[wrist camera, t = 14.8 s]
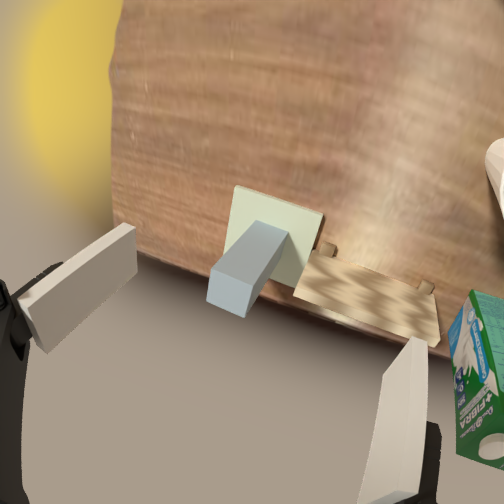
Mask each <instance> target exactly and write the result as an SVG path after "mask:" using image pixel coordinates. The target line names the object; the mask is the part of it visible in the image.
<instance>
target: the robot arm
mask: <svg viewBox="0 0 504 504" xmlns="http://www.w3.org/2000/svg"><path fill="white" fill-rule="evenodd" d="M135 274H137V254H136V227H133V226H131V225H129V224H126V223H122V224H121V225H119V226H118V227H116V228H115V229H113V230H112V231H110V232H108V233H107V234H105V235H104V236H102V237H101V238H99V239H98V240H97V241H95V242H94V243H92V244H91V245H89V246H88V247H86V248H85V249H83V250H82V251H80V252H79V253H78V254H76V255H75V256H74V257H72V258H71V259H69V260H68V261H66V262H65V263H63V262H59V263H57V264H54V265H51V266H50V267H48V268H47V269H46V270H44V271H43V273H40V274H39V275H38V276H36V278H33V279H32V280H31V281H29V282H28V283H27V284H26V285H24V286H23V287H22V288H20V289H19V290H18V291H16V292H15V293H14V294H12V295H11V296H10V295H9V293H8V289H7V287H6V284H5V282H4V281H2V280H1V279H0V504H29V500H28V497H27V495H26V493H25V491H24V489H23V486H22V469H21V431H22V411H23V398H24V388H25V379H26V371H27V363H28V356H29V349H30V341H29V339H30V338H31V337H33V338H34V340H35V342H36V344H37V346H38V347H40V348H41V349H42V350H43V351H44V352H45V353H47V354H48V353H49V352H50V351H51V350H52V349H53V348H55V346H57V345H58V344H59V343H60V342H61V341H62V340H63V339H64V338H65V337H66V336H67V335H68V334H69V333H70V332H72V331H73V330H74V328H76V327H77V326H78V325H79V324H80V323H81V322H82V321H83V320H84V319H86V318H87V317H88V316H89V315H90V314H91V313H92V312H93V311H94V310H95V309H97V308H98V307H99V306H100V305H101V304H102V303H103V302H104V301H106V299H108V298H109V297H110V296H111V295H112V294H113V293H115V292H116V291H117V290H118V289H119V288H120V287H121V286H123V285H124V284H125V283H126V282H127V281H128V280H130V279H131V278H132V277H133V276H134V275H135ZM427 393H428V348H427V341H425V340H422V339H419V338H416V337H414V336H412V337H411V338H410V340H409V341H408V343H407V344H406V345H405V347H404V348H403V349H402V351H401V352H400V353H399V355H398V356H397V358H396V359H395V360H394V362H393V363H392V364H391V365H390V367H389V368H388V369H387V370H386V372H385V373H384V374H383V379H382V386H381V393H380V400H379V406H378V411H377V417H376V422H375V428H374V433H373V438H372V443H371V447H370V452H369V456H368V461H367V465H366V469H365V473H364V477H363V481H362V485H361V489H360V492H359V496H358V500H357V503H356V504H437V503H436V491H437V484H438V475H439V466H440V461H439V460H440V455H441V452H440V450H441V440H442V436H441V433H440V429H439V426H438V424H436V423H432V422H428V421H426V418H427V396H428V394H427Z"/></svg>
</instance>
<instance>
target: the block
mask: <svg viewBox="0 0 504 504" xmlns="http://www.w3.org/2000/svg"><path fill="white" fill-rule="evenodd" d="M287 235H288V231H285V230H282V229H280V228H277V227H274V226H272V225H269V224H266V223H264V222H261V221H258V220H255V221H254V222H253V224H252V225H251V226H250V227H249V228H248V229H247V230H246V231H245V232H244V233H243V234H242V235H241V237H240V238H239V239H238V240H237V241H236V242H235V243H234V244H233V245H232V246H231V247H230V249H229V250H228V251H227V252H226V253H225V254H224V255H223V256H222V257H221V258H220V260H219V261H218V262H217V263H216V264H215V265H214V266H213V267H212V268H211V274H210V280H209V287H208V293H207V300H206V301H207V302H210V303H212V304H214V305H216V306H218V307H220V308H223V309H225V310H227V311H230V312H232V313H234V314H236V315H239V316H241V317H243V318H244V317H245V316H246V314H247V313H248V311H249V310H250V308H251V306H252V305H253V303H254V301H255V299H256V298H257V296H258V295H259V293H260V292H261V290H262V288H263V287H264V285H265V283H266V282H267V280H268V278H269V277H270V275H271V273H272V272H273V270H274V268H275V267H276V265H277V263H278V262H279V260H280V257H281V254H282V251H283V248H284V244H285V241H286V238H287Z"/></svg>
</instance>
